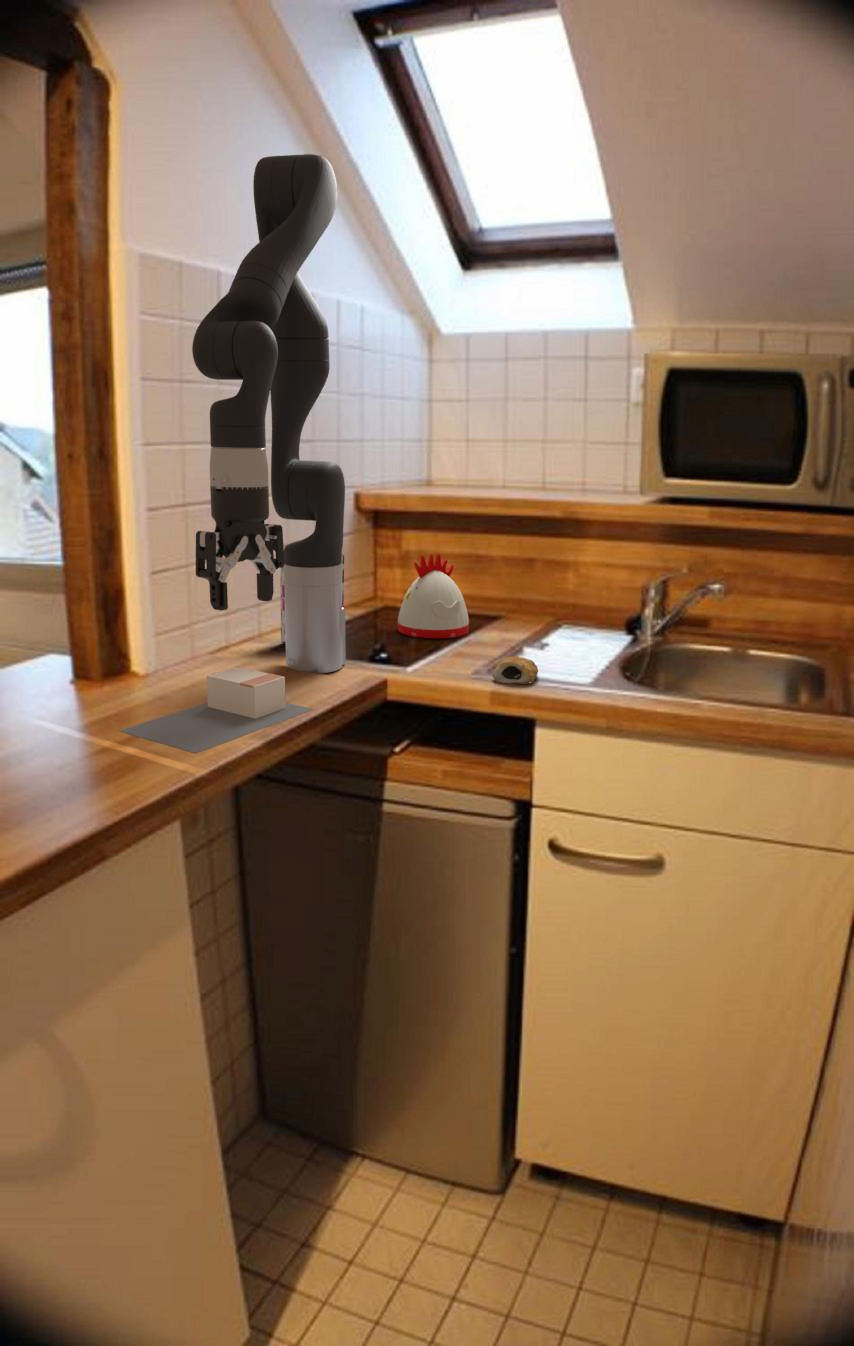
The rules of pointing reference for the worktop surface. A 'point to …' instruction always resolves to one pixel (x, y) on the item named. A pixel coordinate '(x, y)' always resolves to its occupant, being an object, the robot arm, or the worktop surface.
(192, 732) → the mat
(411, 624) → the kitchen timer
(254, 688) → the card deck
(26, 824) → the worktop surface
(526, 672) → the pastry
